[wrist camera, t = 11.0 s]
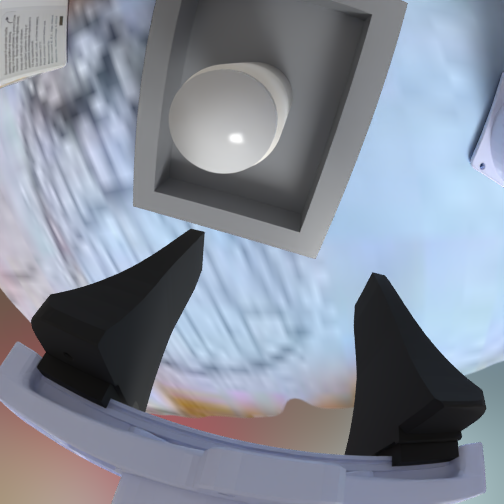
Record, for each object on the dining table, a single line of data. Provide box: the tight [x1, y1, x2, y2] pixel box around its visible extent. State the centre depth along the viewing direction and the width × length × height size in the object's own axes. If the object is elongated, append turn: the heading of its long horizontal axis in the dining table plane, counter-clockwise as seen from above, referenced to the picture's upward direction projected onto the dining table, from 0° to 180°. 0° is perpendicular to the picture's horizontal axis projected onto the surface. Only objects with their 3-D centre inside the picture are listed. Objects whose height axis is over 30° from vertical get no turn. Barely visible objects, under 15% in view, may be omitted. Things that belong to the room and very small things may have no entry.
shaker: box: [169, 62, 293, 174], centre depth 13 cm, size 4×4×8 cm
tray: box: [133, 0, 408, 259], centre depth 16 cm, size 13×17×3 cm
